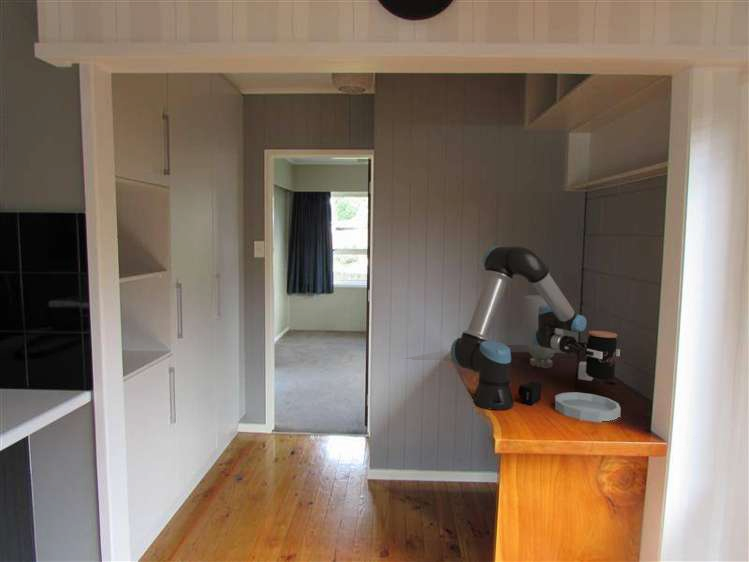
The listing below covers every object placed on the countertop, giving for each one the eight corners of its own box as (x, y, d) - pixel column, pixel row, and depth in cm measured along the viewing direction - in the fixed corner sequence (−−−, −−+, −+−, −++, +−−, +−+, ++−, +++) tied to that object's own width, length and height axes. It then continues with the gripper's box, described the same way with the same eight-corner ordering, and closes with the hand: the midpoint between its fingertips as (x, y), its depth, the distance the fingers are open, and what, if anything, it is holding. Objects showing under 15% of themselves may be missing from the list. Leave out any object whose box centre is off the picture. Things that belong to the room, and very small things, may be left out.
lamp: (516, 359, 253) (519, 294, 250) (554, 360, 252) (557, 295, 249) (526, 369, 233) (530, 299, 230) (567, 371, 232) (571, 300, 229)
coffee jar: (598, 380, 186) (601, 335, 184) (579, 373, 196) (582, 330, 195) (620, 379, 189) (623, 335, 187) (601, 372, 199) (603, 330, 197)
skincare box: (591, 381, 215) (592, 365, 215) (577, 379, 218) (578, 363, 218) (593, 378, 220) (594, 362, 220) (580, 376, 223) (580, 360, 223)
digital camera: (527, 396, 191) (528, 379, 191) (540, 399, 188) (541, 382, 187) (517, 403, 183) (518, 385, 183) (531, 406, 180) (532, 388, 179)
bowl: (602, 426, 160) (603, 416, 160) (543, 408, 177) (544, 399, 177) (629, 413, 174) (630, 403, 174) (572, 397, 191) (573, 389, 191)
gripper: (580, 349, 213) (627, 360, 194) (545, 354, 202) (591, 366, 182) (581, 333, 213) (628, 342, 193) (546, 337, 201) (593, 347, 182)
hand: (610, 354), depth 188 cm, fingers closed on coffee jar, 11 cm apart
